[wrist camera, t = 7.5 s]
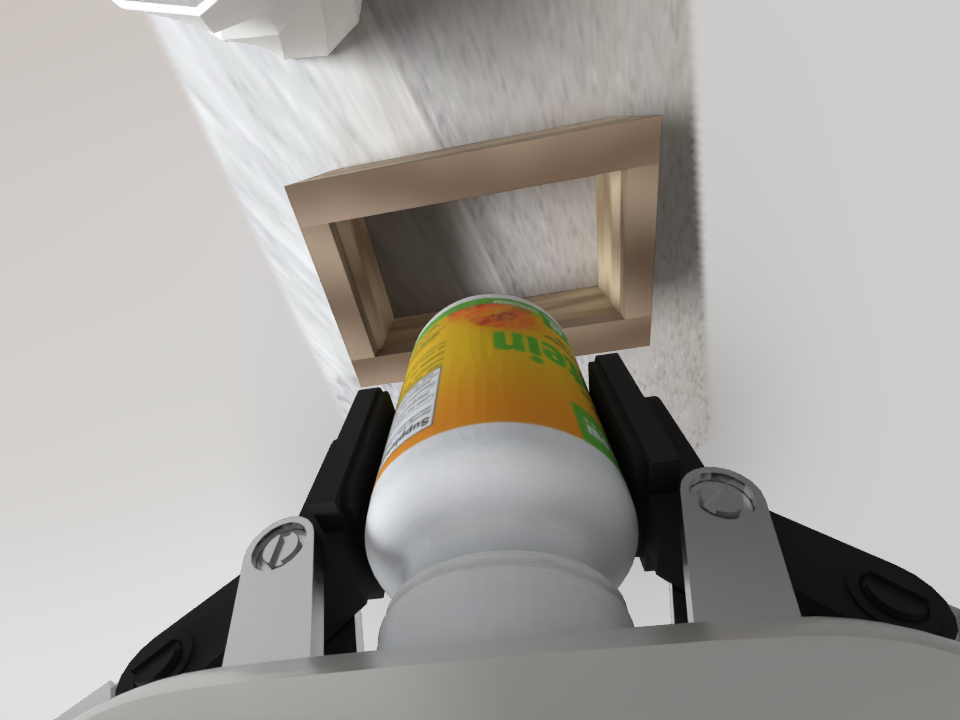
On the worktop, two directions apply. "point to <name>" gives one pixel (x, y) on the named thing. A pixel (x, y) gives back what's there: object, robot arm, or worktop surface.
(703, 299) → the worktop surface
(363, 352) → the wooden box
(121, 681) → the robot arm
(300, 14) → the vase
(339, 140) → the worktop surface
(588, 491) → the supplement bottle
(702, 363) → the worktop surface
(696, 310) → the worktop surface
